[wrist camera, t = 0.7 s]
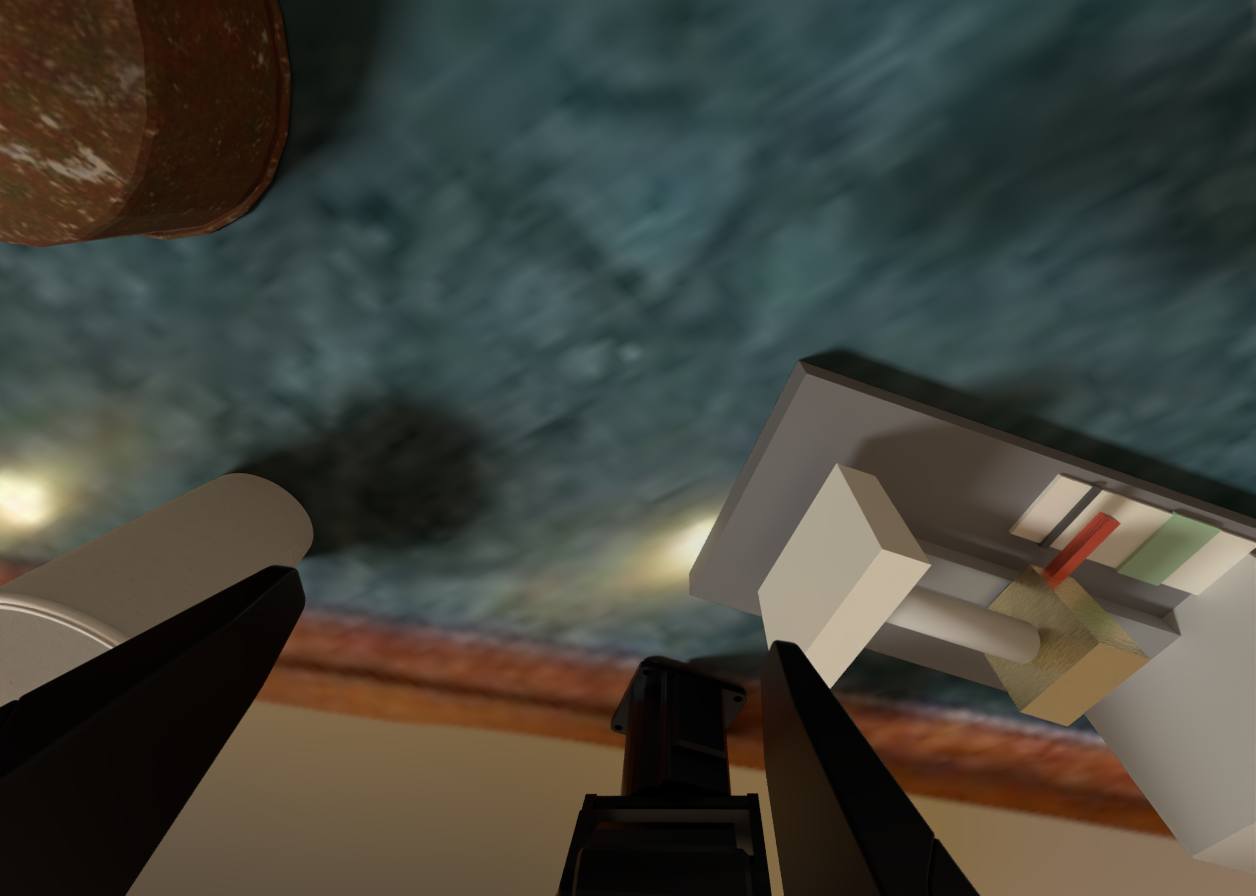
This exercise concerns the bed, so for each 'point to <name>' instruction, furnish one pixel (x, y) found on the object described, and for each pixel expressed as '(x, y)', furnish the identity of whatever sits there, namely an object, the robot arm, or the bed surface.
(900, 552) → the plunger
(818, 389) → the base
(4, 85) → the oil lamp
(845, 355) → the bed surface
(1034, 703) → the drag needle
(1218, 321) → the bed surface
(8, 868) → the robot arm
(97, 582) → the dixie cup
